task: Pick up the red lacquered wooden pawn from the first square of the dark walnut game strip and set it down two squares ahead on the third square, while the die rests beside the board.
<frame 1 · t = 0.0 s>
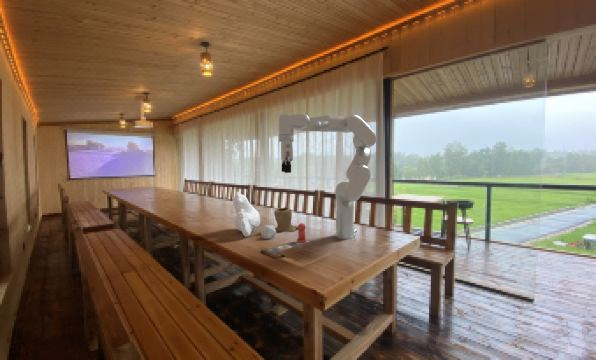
hand: (286, 172, 138), 37 cm above the table, tool pointing down, fingers open, 9 cm apart
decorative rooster: (244, 233, 158), on the table
board: (289, 248, 132), on the table
pawn: (301, 241, 138), point 1 cm above the table, touching board
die: (268, 240, 146), on the table
stone cup: (286, 232, 161), on the table
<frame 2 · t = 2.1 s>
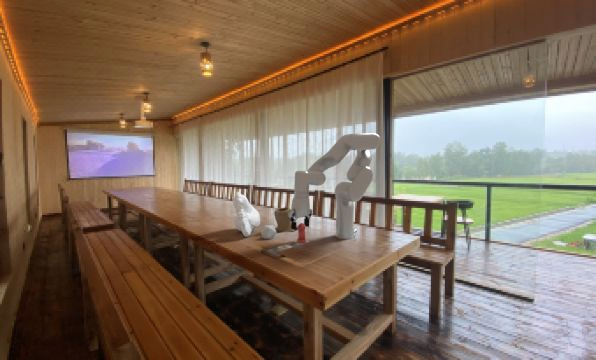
hand: (300, 227, 137), 9 cm above the table, tool pointing down, fingers open, 9 cm apart
nothing on the table moved.
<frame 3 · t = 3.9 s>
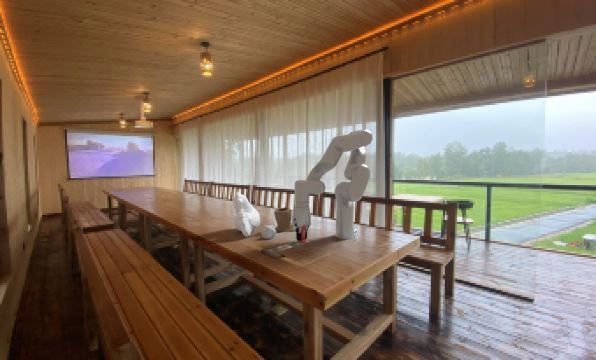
hand: (301, 238, 138), 3 cm above the table, tool pointing down, fingers closed on pawn, 3 cm apart
pawn: (301, 241, 138), point 1 cm above the table, touching board, gripper
everything else where it was.
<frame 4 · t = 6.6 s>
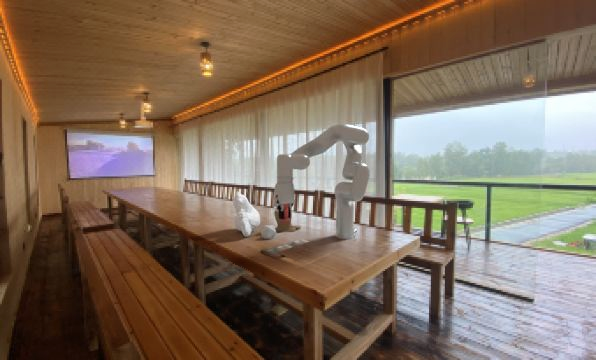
hand: (284, 217, 128), 16 cm above the table, tool pointing down, fingers closed on pawn, 3 cm apart
pawn: (284, 220, 129), point 14 cm above the table, touching gripper
everything else where it was.
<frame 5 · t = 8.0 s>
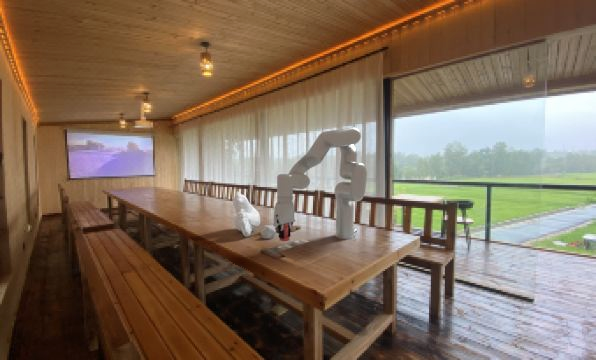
hand: (284, 236, 129), 7 cm above the table, tool pointing down, fingers closed on pawn, 3 cm apart
pawn: (284, 239, 129), point 5 cm above the table, touching gripper
everything else where it was.
when the fingers open (4 cm above the table, at t = 9.3 s): pawn drops 1 cm, resting on board.
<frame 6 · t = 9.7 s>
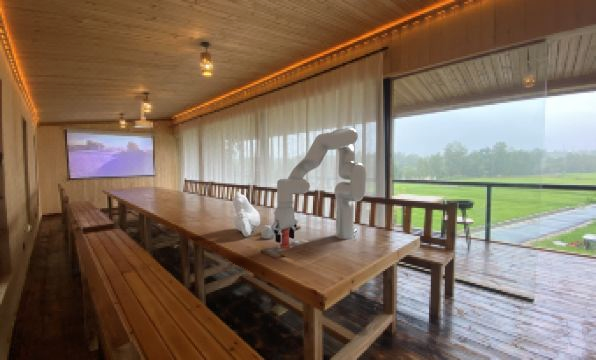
hand: (285, 240, 129), 5 cm above the table, tool pointing down, fingers open, 8 cm apart
pawn: (285, 246, 130), point 1 cm above the table, touching board
everything else where it was.
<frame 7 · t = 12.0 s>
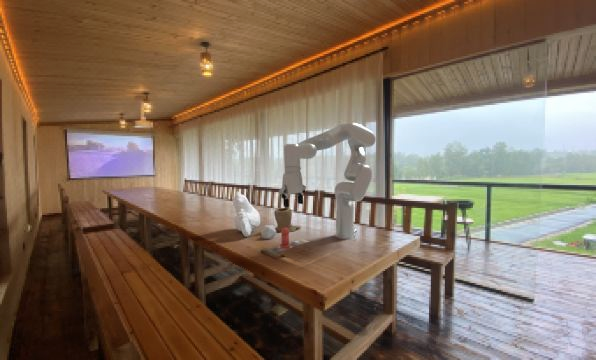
hand: (293, 205, 129), 22 cm above the table, tool pointing down, fingers open, 9 cm apart
nothing on the table moved.
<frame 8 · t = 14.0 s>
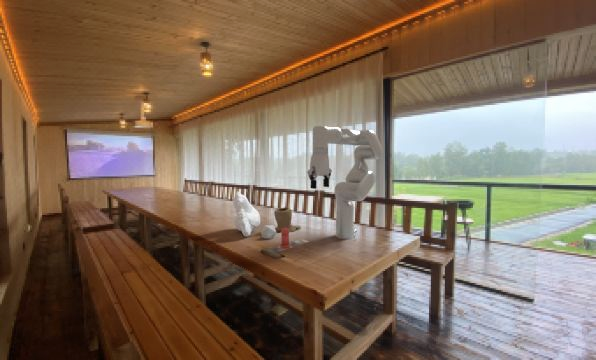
hand: (320, 187, 129), 30 cm above the table, tool pointing down, fingers open, 9 cm apart
nothing on the table moved.
at the end: pawn 0.1 cm from the target spot on the board, point 1.4 cm above the board's base; pawn tilted 0°; the gripper is holding nothing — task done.
